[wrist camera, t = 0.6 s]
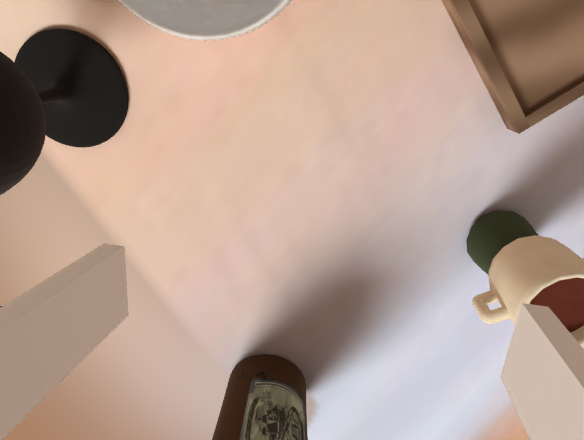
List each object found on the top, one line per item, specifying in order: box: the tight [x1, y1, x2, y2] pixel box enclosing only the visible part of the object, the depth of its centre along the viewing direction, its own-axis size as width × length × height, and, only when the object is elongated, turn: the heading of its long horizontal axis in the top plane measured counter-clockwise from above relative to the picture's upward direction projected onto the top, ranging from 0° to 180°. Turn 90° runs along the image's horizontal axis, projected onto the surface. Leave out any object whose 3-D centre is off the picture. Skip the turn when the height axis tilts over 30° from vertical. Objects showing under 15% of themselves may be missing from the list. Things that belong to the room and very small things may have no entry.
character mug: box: [467, 211, 584, 348], centre depth 36 cm, size 11×7×13 cm, turn 115°
